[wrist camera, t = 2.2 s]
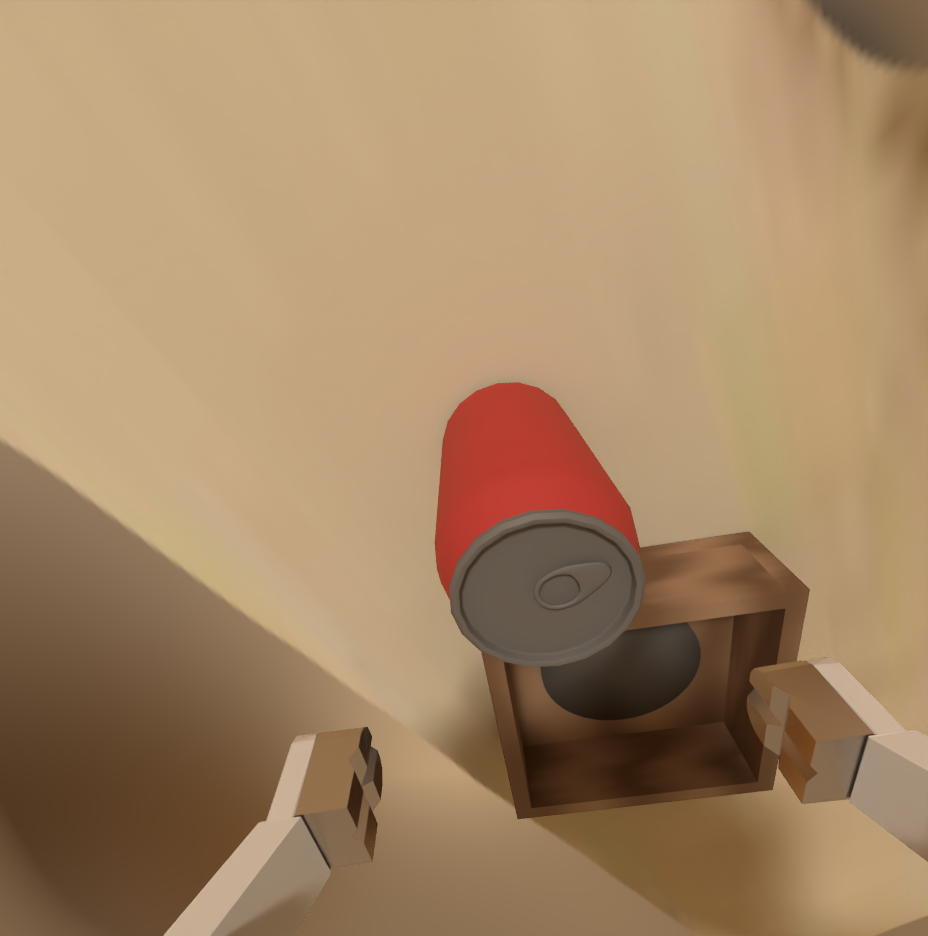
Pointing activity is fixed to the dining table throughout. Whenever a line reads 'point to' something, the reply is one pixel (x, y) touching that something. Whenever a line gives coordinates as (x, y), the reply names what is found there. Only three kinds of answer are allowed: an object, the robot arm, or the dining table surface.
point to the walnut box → (656, 688)
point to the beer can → (532, 532)
